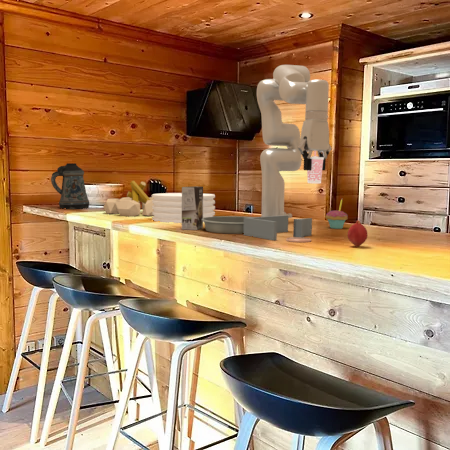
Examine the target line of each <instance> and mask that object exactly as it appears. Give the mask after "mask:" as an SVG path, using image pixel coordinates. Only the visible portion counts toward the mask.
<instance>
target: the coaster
mask: <svg viewBox="0 0 450 450" xmlns="http://www.w3.org/2000/svg"><path fill="white" fill-rule="evenodd" d="M285 241H287V242H289V241H290V243H311V241H312V238H310V237H305V236H304V237H293V236H292V237H291V236H290V237H286V238H285Z"/></svg>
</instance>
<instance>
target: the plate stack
mask: <svg viewBox="0 0 450 450" xmlns="http://www.w3.org/2000/svg"><path fill="white" fill-rule="evenodd" d="M151 197H153V198H154V200H152V203H153V204H154V205H153V206H152V209H154V211H152V215H154V216H151V217H152V218H151V219H152V221H153V220H154V222H158V221H160V222H159V223H169V222H174V223H173V224H182V192H165V193H164V192H163V193H162V192H161V193H153V194H151ZM215 198H216V195H215V193H203V218H205V217H214V216H215V215H216V211H214V210H216V206H215V204H216V200H215ZM203 223H204V221H203Z"/></svg>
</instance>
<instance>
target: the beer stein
mask: <svg viewBox="0 0 450 450" xmlns="http://www.w3.org/2000/svg"><path fill="white" fill-rule="evenodd" d="M84 174H85V171H84V170H83V169H82V168H81V167H80V166H78V164H77V163H75V162H74V163H71V162H68V163H66V164H65V165H61V166H59V167H57V171H54V172H53V173H52V174H51V178H50V182H51V184H52V187H53V188H54V190H55V191H56V192H57V194H60V200H59V202H58V205H59V209H60V208H66V209H65V210H84V209H83V208H88V209H89V207H90V200H89V197H88V194H87V190H86V185H85V179H84ZM58 177H62V184H61V188H60V187H59V185H58V183H57V181H56V179H57V178H58Z"/></svg>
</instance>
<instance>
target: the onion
mask: <svg viewBox="0 0 450 450" xmlns="http://www.w3.org/2000/svg"><path fill="white" fill-rule="evenodd" d="M347 238H348V240H349V242H351V244H353V246H355V247H356V248H357V247H358V248H359V247H361V246H362V245H363V244H364V243H365V242H366V241H367V239H368V230H367V228H366V226H364V225H363V224H362V223H361V221H360V220H356V221H355V223H353V224H352V225H350V227H349V229H348V231H347Z"/></svg>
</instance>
